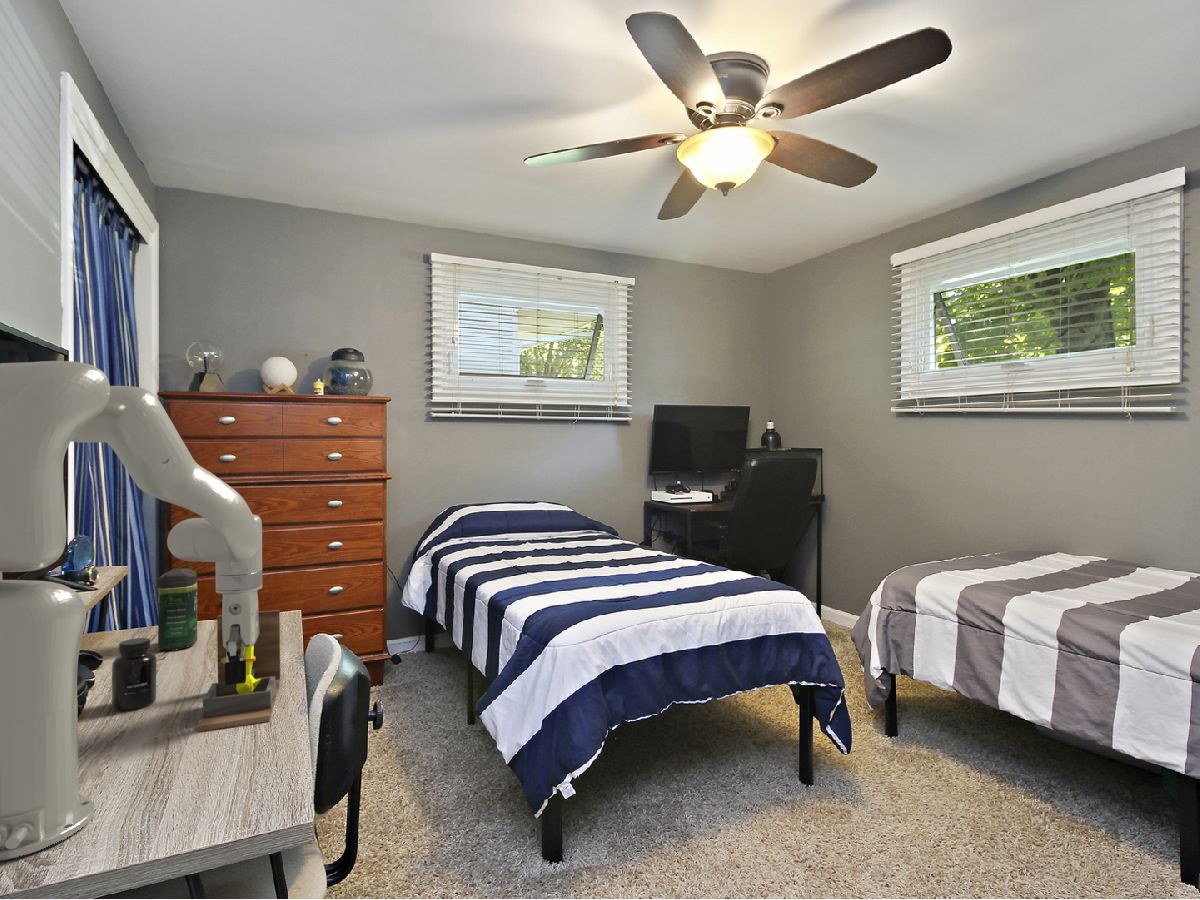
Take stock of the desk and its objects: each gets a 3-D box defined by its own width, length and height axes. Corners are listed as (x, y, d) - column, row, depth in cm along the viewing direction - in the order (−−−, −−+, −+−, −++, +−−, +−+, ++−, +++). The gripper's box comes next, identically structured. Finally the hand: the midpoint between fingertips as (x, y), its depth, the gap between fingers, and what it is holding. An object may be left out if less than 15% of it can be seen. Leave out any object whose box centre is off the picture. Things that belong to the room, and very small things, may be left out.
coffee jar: (194, 649, 155) (193, 571, 155) (155, 653, 151) (154, 574, 151) (200, 638, 164) (199, 565, 163) (163, 642, 160) (162, 567, 160)
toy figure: (217, 709, 116) (220, 642, 116) (221, 702, 119) (223, 637, 120) (259, 705, 119) (262, 639, 119) (262, 698, 122) (264, 634, 122)
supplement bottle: (133, 713, 117) (132, 648, 117) (102, 710, 119) (101, 645, 119) (165, 699, 124) (165, 636, 124) (136, 696, 126) (135, 634, 125)
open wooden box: (269, 721, 114) (268, 636, 114) (197, 731, 110) (196, 644, 110) (280, 682, 132) (279, 609, 132) (218, 690, 128) (218, 615, 128)
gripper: (256, 589, 112) (256, 687, 112) (267, 571, 128) (268, 658, 128) (206, 593, 109) (207, 694, 109) (224, 574, 126) (224, 662, 126)
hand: (239, 674), depth 119 cm, fingers open, 9 cm apart
